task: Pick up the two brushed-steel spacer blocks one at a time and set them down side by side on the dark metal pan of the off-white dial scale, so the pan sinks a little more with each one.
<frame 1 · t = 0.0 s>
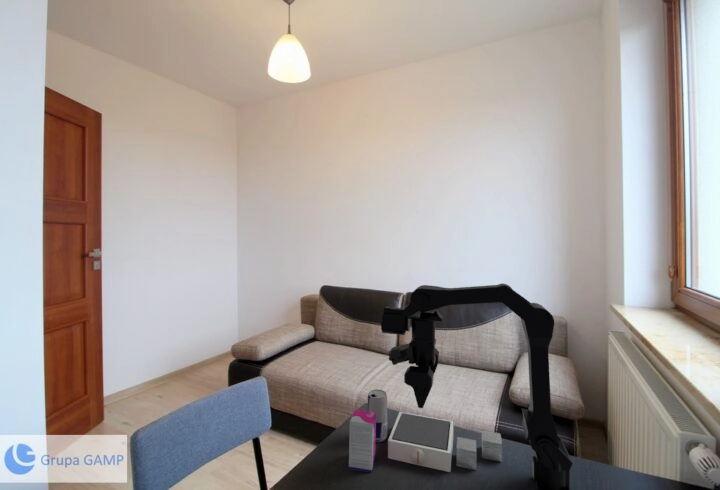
hand: (423, 398, 80), 15 cm above the table, tool pointing down, fingers open, 9 cm apart
supplement box: (362, 463, 78), on the table
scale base: (422, 447, 84), on the table
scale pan: (422, 431, 84), point 4 cm above the table, slide at 0.2 cm
energy drink: (377, 437, 88), on the table
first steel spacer: (466, 462, 78), on the table
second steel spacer: (491, 454, 81), on the table
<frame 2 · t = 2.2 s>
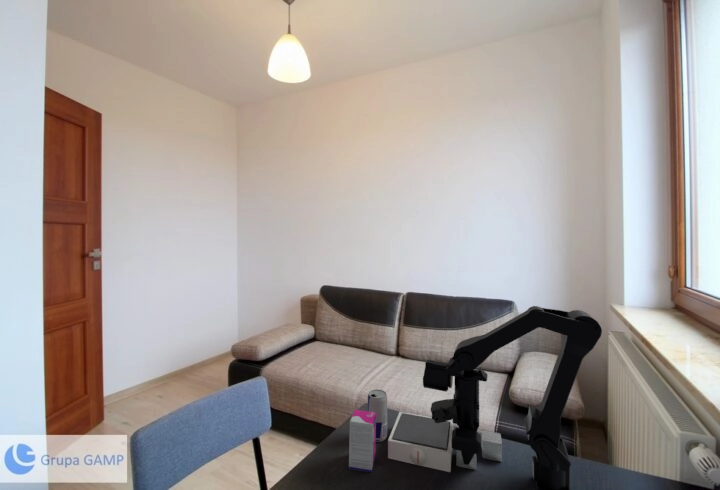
hand: (466, 457, 78), 1 cm above the table, tool pointing down, fingers closed on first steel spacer, 4 cm apart
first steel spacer: (466, 461, 78), on the table, touching gripper
everything else where it was.
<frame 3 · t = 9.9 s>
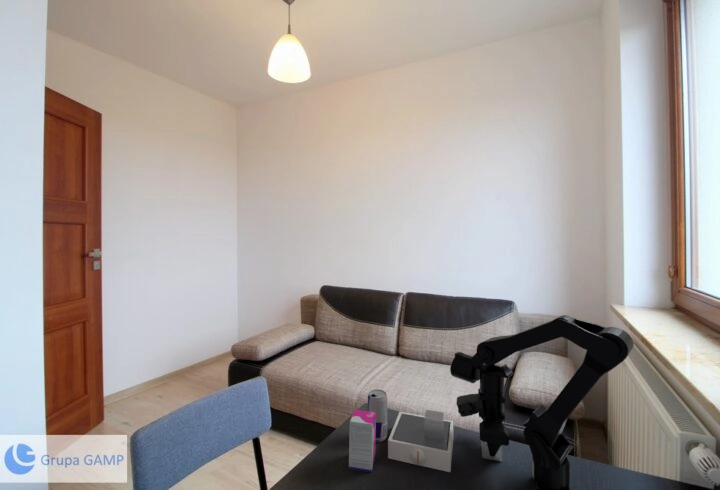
hand: (491, 449, 81), 1 cm above the table, tool pointing down, fingers closed on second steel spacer, 4 cm apart
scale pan: (422, 432, 84), point 4 cm above the table, slide at 0.6 cm, touching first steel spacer
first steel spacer: (434, 432, 83), point 4 cm above the table, touching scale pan
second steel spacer: (491, 454, 81), on the table, touching gripper
everything else where it was.
when the fingers open (7 cm above the table, at t = 14.3 s): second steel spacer drops 3 cm, resting on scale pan.
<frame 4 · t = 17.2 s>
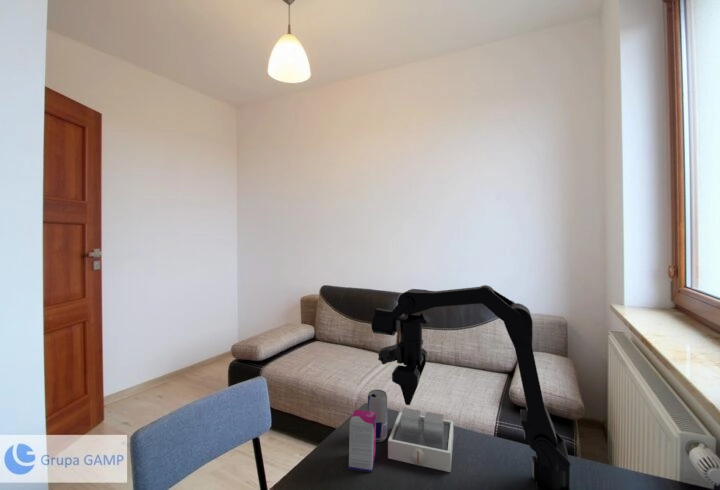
hand: (410, 396, 85), 13 cm above the table, tool pointing down, fingers open, 9 cm apart
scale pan: (422, 434, 84), point 3 cm above the table, slide at 1.1 cm, touching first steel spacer, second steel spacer
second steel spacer: (411, 430, 85), point 4 cm above the table, touching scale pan
everything else where it was.
at the end: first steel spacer inside the target area on the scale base (3.0 cm from its centre), point 3.9 cm above the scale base's base; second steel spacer inside the target area on the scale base (3.0 cm from its centre), point 3.9 cm above the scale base's base; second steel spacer tilted 0° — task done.
